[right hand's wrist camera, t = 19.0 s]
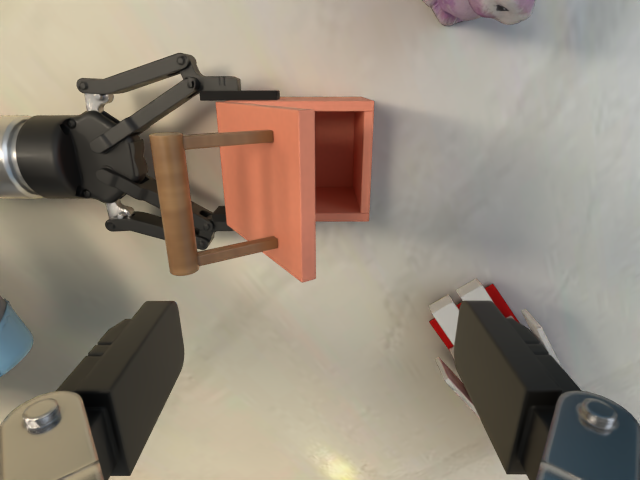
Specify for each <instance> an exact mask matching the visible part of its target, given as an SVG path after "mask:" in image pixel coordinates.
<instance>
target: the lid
mask: <svg viewBox="0 0 640 480" xmlns="http://www.w3.org/2000/svg"><path fill="white" fill-rule="evenodd" d="M216 111H217V122H218V133H207V134H191V135H183V134H182V133H179V132H161V133H153V134H150V135H149V138H150V144H151V151H152V157H153V164H154V170H155V177H156V183H157V190H158V196H159V203H160V209H161V216H162V222H163V229H164V236H165V242H166V249H167V255H168V262H169V268H170V273H171V274H173V275H176V276H185V275H190V274H193V273H195V272H197V271H198V270H199V266H202V265H206V264H211V263H215V262H219V261H224V260H228V259H232V258H237V257H241V256H245V255H250V254H254V253H258V252H263V253H264V254H266V255H267V256H268V257H269V258H271V259H272V260H273V261H275V262H276V263H277V264H278V265H280V266H281V267H282V268H284V269H285V270H286V271H288V272H289V273H290V274H291V275H293V276H294V277H295V278H297V279H298V280H299V281H301V282H306V281H309V280H313V279H316V235H315V111H314V110H313V109H303V108H292V107H281V106H271V105H260V104H249V103H238V102H228V101H227V102H216ZM210 147H220V155H221V166H222V177H223V187H224V198H225V209H226V220H227V225H228V226H229V227H230V228H232V229H233V230H234V231H236V232H237V233H238V234H240V235H241V236H242V237H243V238H245V239H246V240H247V242H242V243H237V244H233V245H228V246H223V247H219V248H214V249H209V250H205V251H200V252H197V246H196V238H195V229H194V221H193V213H192V205H191V197H190V189H189V181H188V173H187V165H186V157H185V150H186V149H198V148H210Z"/></svg>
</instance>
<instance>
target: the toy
mask: <svg viewBox="0 0 640 480" xmlns="http://www.w3.org/2000/svg"><path fill="white" fill-rule="evenodd" d="M456 291H457V293H458V294H459V296H460V297H461V299H462V300H463V301H464V300H490V301H492V302H493V303H494V304H495V305H496V306H497V308H498V309H499V310H500V311H501V313H502V314H503V315H504V316H505V318H512V319H514V320H515V321H517V322H519V321H518V320H517V318H516V317H515V316H514V314H513V313H512V311H511V310H510V308H509V307H508V305H507V304H506V302H505V301H504V299H503V298H502V296H501V295H500V293H499V292H498V290H497V289H496V287H495V286H494V285H493V284H491V285H490V286H488V287H486V288H485V289H484V287H483V285H482V284H481V283H480V282H479V281H478V279H477V278H476V279H474V280H473V281H471V282H469V283H467V284H466V285H464V286H462V287H460V288H459V289H457V290H456ZM461 303H462V302H461ZM461 303H459V304H458V305H455V303H454V302H453V300H452V299H451V297H450V296H449V294H448V295H447V296H445V297H443V298H441V299H440V300H438V301H436V302H434V303H433V304H431V305H429V308H430V310H431V313H432V314H433V316H434V317H435V318H434V319H433V320H431V321H429V322H430V324H431V325H432V327H433V328H434V330H435V331H436V332H437V334H438V335H439V337H440V338H441V339H442V341H443V342H444V344H445V345H446V346H447V348H448V349H449V351H450V352H451V354H452V357H453V359H454V343H455V336H456V329H457V322H458V315H459V309H460V305H461ZM521 312H522V314H523V316H524V318H525V320H526V322H527V323H528V325H529V327H530V329H531V331H532V333H533V335H534V336H535V337H536V338H537V339H538V340H539V342H540V344H542V345H543V346H544V347H545V349H546V350H547V351H548V352H549V355H551V356H552V357H553V358H554V359H555V360H556V362H557V363H558V364H559V365H560V363H559V361H558V359H557V357H556V355H555V353H554V351H553V349H552V347H551V345H550V343H549V341H548V339H547V337H546V335H545V333H544V331H543V329H542V327H541V326H540V325H539V323H538V322H537V321H536V320H535V319H534V318H533V317H532V316H531V314H530V313H529V312H528V311H527V310H526V309H524V310H522V311H521ZM435 360H436V362H437V365H438V367H439V369H440V371H441V374H442V376H443V378H444V381H445V382H446V383H447V384H448V385H449V386H450V387H451V388H452V389H453V390H454V391H455V392H456V394H457V395H458V396H459V397H460V398H461V399H462V400H463V401H464V402H465V403H466V404H467V405H468V406H469V407H470V409H471V410H472V411H473V412H474V413H475V414H476V415H477V416H478V417H479V415H478V413H477V411H476V409H475V407H474V405H473V403H472V401H471V398H470V396H469V394H468V392H467V390H466V388H465V386H464V384H463V383H462V382H461V381H460V380H459V378H458V377H457V376H456V375H455V374H454V373H453V372H452V371H451V370H450V369H449V368H448V366H447V365H446V364H445V363H444V362H443V361H442V360H441V359H440V358H439V357H438V358H436V359H435ZM560 366H561V365H560ZM479 418H480V417H479ZM526 475H527V474H526Z"/></svg>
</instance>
